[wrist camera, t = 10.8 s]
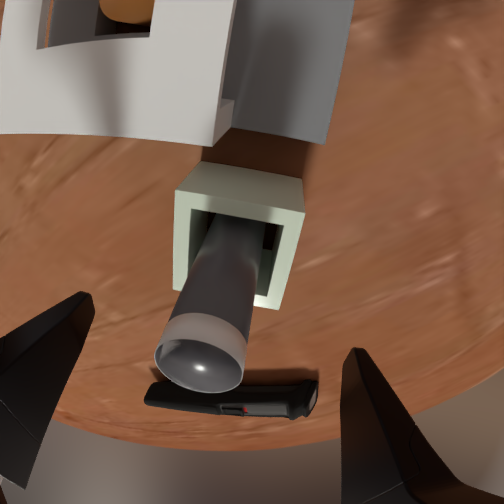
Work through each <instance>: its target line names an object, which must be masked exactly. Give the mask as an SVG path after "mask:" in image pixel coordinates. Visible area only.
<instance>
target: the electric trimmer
mask: <svg viewBox="0 0 504 504" xmlns="http://www.w3.org/2000/svg"><path fill="white" fill-rule="evenodd" d="M317 397H318V382H312V381H311V380H310V379H308V380H304V382H303V383H302V384H301V385H295V386H236V387H235V388H233V389H231V390H228V391H225V392H219V393H206V392H199V391H194V390H191V389H188V388H185V387H183V386H180V385H178V384H176V383H175V382H155V383H153V384H151V386H150V387H149V389H148V391H147V393H146V395H145V397H144V403H145V404H146V405H149V406H155V407H161V408H167V409H174V410H182V411H190V412H198V413H207V414H215V415H235V416H242V417H244V416H255V417H285V418H289V419H290V420H295V419H296V418H298V417H300V416H302V415H303V416H304V417H308V416H309V414H310V413H311V411H312V410H313V408H314V406H315V404H316V402H317Z"/></svg>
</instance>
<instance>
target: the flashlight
mask: <svg viewBox="0 0 504 504" xmlns="http://www.w3.org/2000/svg"><path fill="white" fill-rule="evenodd" d="M265 227H266V222H264V221H258V220H253V219H248V218H242V217H237V216H231V215H226V214H220V213H216V215H215V217H214V219H213V221H212V224H211V226H210V228H209V230H208V232H207V234H206V237H205V239H204V241H203V243H202V245H201V248H200V250H199V252H198V254H197V256H196V259H195V261H194V263H193V265H192V268H191V270H190V272H189V274H188V277H187V279H186V281H185V284H184V286H183V288H182V290H181V293H180V295H179V297H178V300H177V302H176V304H175V307H174V309H173V311H172V314H171V316H170V319H169V321H168V323H167V325H166V327H165V329H164V331H163V334H162V336H161V339H160V341H159V343H158V346H157V348H156V351H155V355H154V358H155V362H156V365H157V366H158V368H159V370H160V371H161V372H162V373H163V374H164V375H165V376H166V377H167V378H169V379H170V380H171V381H173V382H175V383H176V384H178V385H180V386H183V387H185V388H188V389H191V390H194V391H199V392H206V393H219V392H225V391H228V390H231V389H233V388H235V387H236V386H238V385H239V384H240V382H241V381H242V378H243V372H244V366H245V359H246V353H247V343H248V336H249V330H250V324H251V317H252V311H253V305H254V298H255V292H256V285H257V279H258V272H259V266H260V259H261V253H262V246H263V240H264V233H265Z"/></svg>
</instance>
